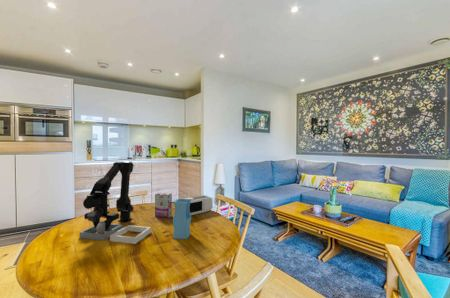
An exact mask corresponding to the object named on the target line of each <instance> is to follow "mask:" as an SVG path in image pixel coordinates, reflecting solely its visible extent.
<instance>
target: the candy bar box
mask: <svg viewBox="0 0 450 298" xmlns="http://www.w3.org/2000/svg"><path fill="white" fill-rule="evenodd" d="M172 194H173V193H166V192H157V193H154V217H156V218H164V219H169V218H171V217H173V216H172V215H173V214H172V213H173V211H172V210H173V206H172V205H173V195H172Z"/></svg>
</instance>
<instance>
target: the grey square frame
mask: <svg viewBox="0 0 450 298" xmlns="http://www.w3.org/2000/svg"><path fill="white" fill-rule="evenodd" d="M122 228H123V224H119V223H111V225H110V227H109V229H108V231H107V232H105V233H103V234H99V233H97V231H96V229H95V227H94V225H93V226H90V227H88V228H85V229H84V230H81V231H80V232H79V238H80V239H87V240H95V241H96V240H97V241H105V240H107V239H108V238H109V239H110V235H112V234H114V233H115V232H117V231H119V230H121V229H122Z"/></svg>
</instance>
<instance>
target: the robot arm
mask: <svg viewBox="0 0 450 298" xmlns="http://www.w3.org/2000/svg"><path fill="white" fill-rule="evenodd" d="M134 167H135V166H134V163H133V161H114V162H113V164H112V166H111V167H110V169H108V171H107V172H106V173H105V175H104V176H103V177H102V178H100V179H98V180H97V181H96V182H95V183H94V185H93V187H92V188H91V190H90V193H89V195H86V198H85V199H84V200H83V203H82V205H83V208H85V209H86V210H90V209H93V210H92V211H88V212H86V213H85V214H84V216H83V218H84V220H88V221H90V222H92V225H93V226H94V227H95V229H96V227H97V225H98V223H99V222H100V221H101V219H102V218H103V219H105V220H103V221H104V222H105V230H106V232H108V231H109V230H110V229H109V227H110V225H111V224H113V222H114V221H116V220H118V219H119V220H118V221H117V222H122V223H128V222H129V221H132V220H133V217H131V213H132V212H133V211H134V208H135V207H134V206H133V205H132V203H131V201H132V199H131V198H130V196H129V191H130V178H131V173H132V172H133V170H134ZM119 172H120V174H121V183H120V194H119V197H118V199H116V201H115V202H116V204H115V206H116V211H117V212H119V213H117V212H112V213H110V211H109V209H108V207H110V204H108V203H109V202H108V201H109V200H108V196H109V195H110V194H111V193H110V192H109V190H110V189H111V187H112V182H113V180H114V179H115V178H116V176H117V175H118V173H119ZM106 232H105V233H106Z"/></svg>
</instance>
